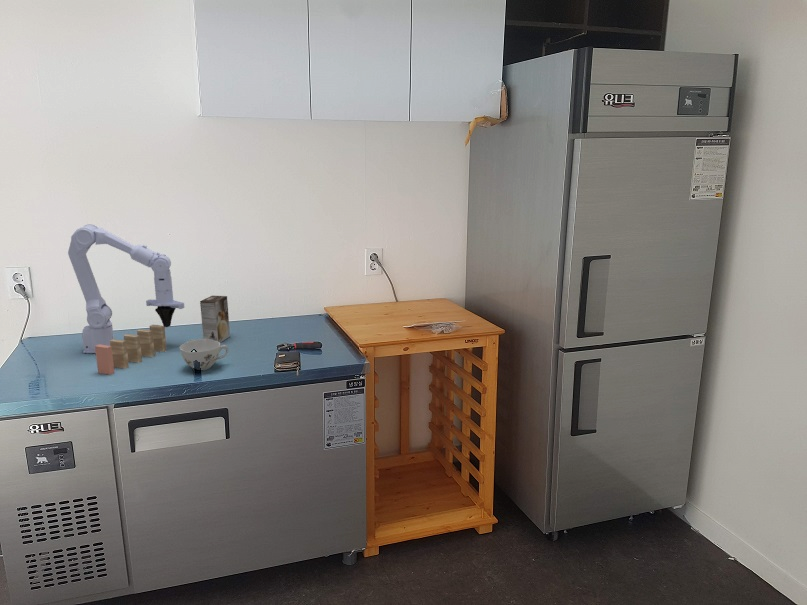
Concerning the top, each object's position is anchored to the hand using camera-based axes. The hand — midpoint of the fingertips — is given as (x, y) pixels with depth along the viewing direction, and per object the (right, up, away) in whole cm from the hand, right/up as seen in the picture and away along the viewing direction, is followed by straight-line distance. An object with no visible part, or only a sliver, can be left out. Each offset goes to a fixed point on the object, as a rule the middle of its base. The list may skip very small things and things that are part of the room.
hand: (167, 326), depth 223 cm
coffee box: (+15, -6, +9) cm, 19 cm away
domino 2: (-6, -11, -14) cm, 19 cm away
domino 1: (-8, -13, -19) cm, 24 cm away
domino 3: (-4, -10, -8) cm, 13 cm away
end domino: (-10, -14, -24) cm, 30 cm away
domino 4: (-2, -8, -3) cm, 9 cm away
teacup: (+20, -13, -19) cm, 30 cm away
